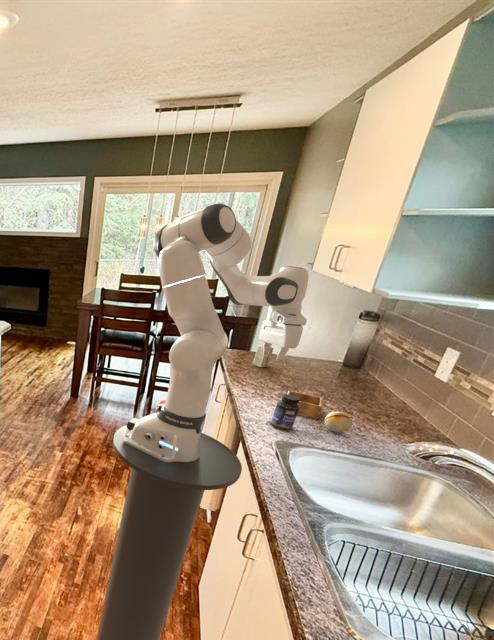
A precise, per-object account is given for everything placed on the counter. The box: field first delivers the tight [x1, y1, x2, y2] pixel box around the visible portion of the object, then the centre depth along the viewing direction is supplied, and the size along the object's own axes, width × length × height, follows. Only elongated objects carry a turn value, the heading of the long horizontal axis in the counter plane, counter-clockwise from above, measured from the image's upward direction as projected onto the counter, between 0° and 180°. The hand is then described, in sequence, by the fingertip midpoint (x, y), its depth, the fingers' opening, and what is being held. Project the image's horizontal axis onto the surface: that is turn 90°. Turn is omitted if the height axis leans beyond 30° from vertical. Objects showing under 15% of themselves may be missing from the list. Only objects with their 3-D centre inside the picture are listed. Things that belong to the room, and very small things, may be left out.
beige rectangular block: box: [252, 344, 275, 368], centre depth 191 cm, size 5×4×10 cm
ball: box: [323, 411, 353, 433], centre depth 131 cm, size 7×7×7 cm
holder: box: [286, 389, 324, 421], centre depth 146 cm, size 11×11×5 cm
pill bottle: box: [269, 393, 300, 431], centre depth 132 cm, size 6×6×11 cm
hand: (272, 357), depth 136 cm, fingers open, 8 cm apart
